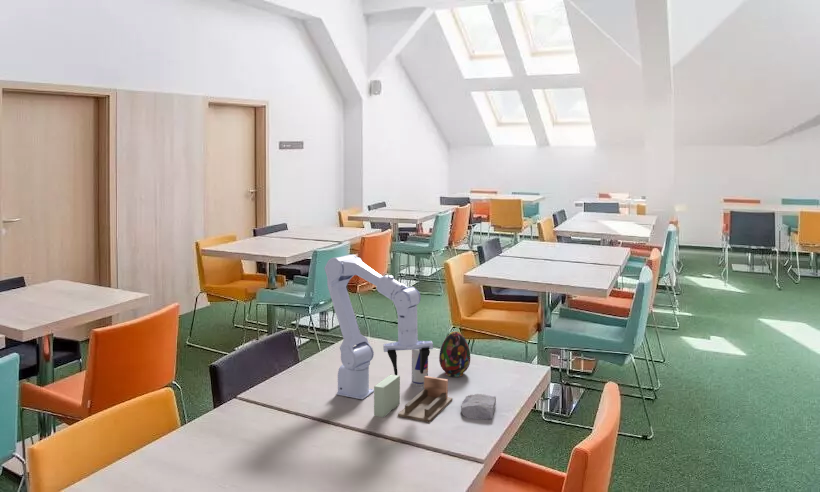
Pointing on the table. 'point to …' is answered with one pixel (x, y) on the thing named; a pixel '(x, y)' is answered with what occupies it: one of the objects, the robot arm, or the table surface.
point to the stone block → (478, 406)
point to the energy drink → (418, 369)
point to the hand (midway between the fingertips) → (408, 373)
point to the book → (386, 395)
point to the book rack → (428, 400)
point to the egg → (454, 355)
